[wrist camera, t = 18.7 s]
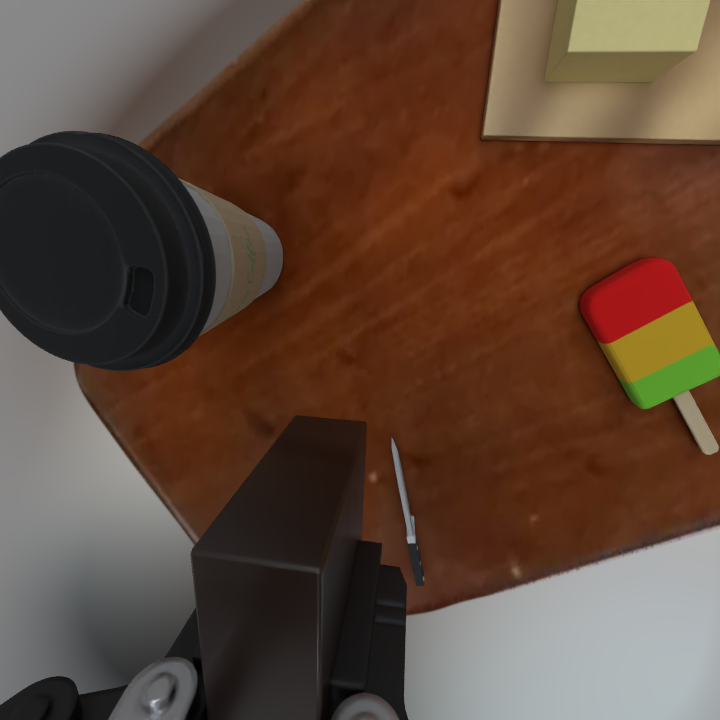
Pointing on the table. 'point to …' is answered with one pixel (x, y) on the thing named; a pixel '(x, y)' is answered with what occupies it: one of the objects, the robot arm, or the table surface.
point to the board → (596, 90)
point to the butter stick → (622, 39)
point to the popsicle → (654, 339)
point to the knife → (408, 521)
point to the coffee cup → (121, 252)
